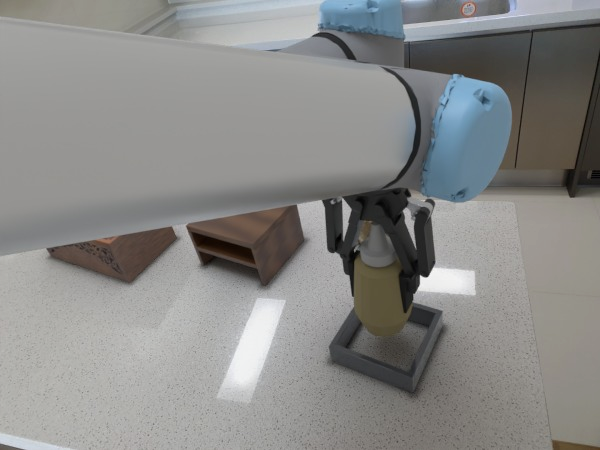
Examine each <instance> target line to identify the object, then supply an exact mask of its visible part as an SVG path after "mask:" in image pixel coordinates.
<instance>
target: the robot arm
mask: <svg viewBox="0 0 600 450" xmlns="http://www.w3.org/2000/svg"><path fill="white" fill-rule="evenodd" d="M402 9H403V7H402V1H401V0H323V1H322V2H321V3H320V5H319V7H318V23H317V26H318V27H317V28H318V29H319V31H318V32H316V33H314V34H312V35H311V36H310V37H308V38H305V39H303V40H300V41H298V42H296V43H293V44H291V45H288V46H286V47H284V48H281V49H279V50H277V51H272V50H264V49H257V48H249V47H242V46H241V47H240V46H233V45H225V44H218V43H209V42H203V41H195V40H187V39H179V38H170V37H163V36H157V35H149V34H141V33H140V34H138V33H132V32H124V31H117V30H109V29H101V28H94V27H86V26H79V25H78V26H77V25H72V24H71V25H69V24H62V23H56V22H46V21H39V20H31V19H24V18H15V17H8V16H1V15H0V257H5V256H10V255H16V254H22V253H27V252H33V251H38V250H39V251H40V250H46V248H51V247H57V246H62V245H68V244H74V243H79V242H85V241H91V240H97V239H102V238H108V237H114V236H119V235H125V234H131V233H137V232H142V231H148V230H154V229H159V228H165V227H171V226H172V227H176V226H181V225H187V224H188V223H194V222H199V221H205V220H211V219H216V218H222V217H228V216H234V215H239V214H245V213H251V212H256V211H262V210H268V209H274V208H279V207H285V206H291V205H296V204H297V205H301V204H302V205H303V204H308V203H312V202H313V203H314V202H318V201H319V202H320V201H321V202H322V205H323V208H324V218H325V236H326V249H327V251H328V252H329V253H330V254H335V253H336V254H338V255H339V257H340V259H341V261H342V267H343V268H342V269H343V273H344V275H346V276H349V285H350V292H351V297H352V298H354V261H355V259H356V256H357V255H358V254H359V253H360V249H356V248H357V247H358V245H359V243H358V239H359V236H360V233H361V230H362V227H363V224H364V221H373V222H375V223H378V224H381V225H382V228H383V230H384V232H385V233H386V234H388V235H389V237H390V240H391V242H392V244H393V247H394V249H395V251H396V254H397V256H398V258H399V261H400V263H401V265H402V268H403V271H402V272H401V274H400V276H399V283H400V293H401V299H402V305H403V311H404V313H407V311H408V309H409V307H410V305H411V304H412V302H414V295H416V293H417V291H418V290H419V287H420V285H421V277H422V278H429V276H430V275H431V273H432V271H433V269H434V267H435V265H436V251H435V241H434V230H433V222H432V221H433V219H432V215H433V213H434V209H435V207H436V201H435V200H434V199H432V198H435V199H438V200H442V201H446V202H450V203H457V204H459V203H460V204H461V203H466V202H469V201H471V200H473V199H475V198H477V196H479V195H480V194H481V193H482V192H483V191H484V190H486V188H487V187H488V186H489V185H490V183H491V182H492V180H493V179H494V177H495V176H496V174H497V172H498V170H499V168H500V167H501V164H502V162H503V160H504V157H505V155H506V151H507V148H508V145H509V140H510V136H511V132H512V125H513V111H512V105H511V102H510V98H509V96H508V95H507V93H506V91H505V90H503V88H502V87H500V86H499V85H497V84H495V83H493V82H489V81H484V80H480V79H475V78H470V77H465V76H464V75H463V74H458V73H453V74H447V73H441V72H436V71H435V72H434V71H429V70H428V71H427V70H422V69H414V68H407V67H405V40H406V34H405V31H404V30H405V29H404V21H403V18H404V17H403V10H402ZM411 190H413V191H415V192H418V193H421V194H422V197H426V199H425V200H421V199H418V198H416V197H413V196H412V193H411ZM343 200H344V202H345V203H346V204H347V205H348V207H349V209H350V214H349V217H348V221H347V228H346V232H345V234H344V216H343V214H344V213H343ZM406 208H407V209H408V210H409V212H410V220H411V221H413V222H414V223H413V233H414V241H415V244H414V241H413V239H412V237H411V233H410V231H409V228H408V226H407V224H406V215H405V213H404V210H406ZM355 249H356V250H355Z"/></svg>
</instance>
